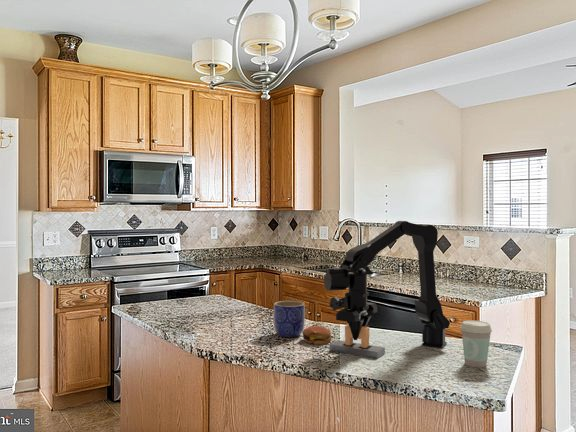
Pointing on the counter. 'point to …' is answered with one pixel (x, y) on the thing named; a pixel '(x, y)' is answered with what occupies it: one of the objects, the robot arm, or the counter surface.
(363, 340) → the clip
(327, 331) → the burger
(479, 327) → the coffee cup
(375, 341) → the counter surface
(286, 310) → the planter
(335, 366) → the counter surface
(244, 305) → the counter surface
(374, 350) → the rail
